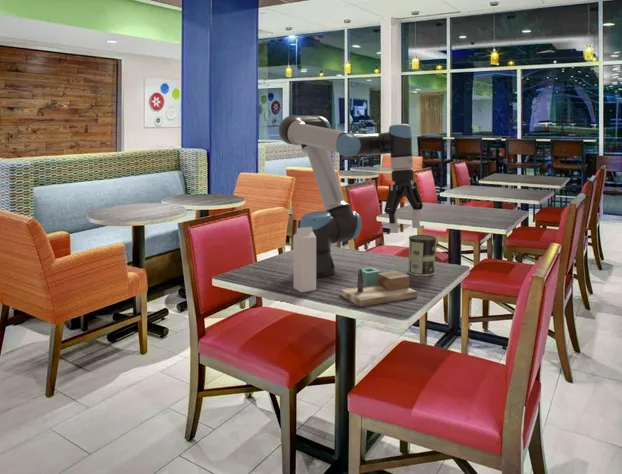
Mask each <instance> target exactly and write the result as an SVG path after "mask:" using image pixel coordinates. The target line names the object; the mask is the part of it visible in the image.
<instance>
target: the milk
mask: <svg viewBox="0 0 622 474" xmlns="http://www.w3.org/2000/svg"><path fill="white" fill-rule="evenodd" d="M292 245H293V247H292V248H293V253H292V254H293V258H292V259H293V261H292V262H293V268H292V269H293V289H294V290H296V291H297V292H300V293H306V292H312V291H317V277H316V236H315V234H314V233H313V231H312V227H304V228H300V227H297V228H296V233H294V235H293V239H292Z"/></svg>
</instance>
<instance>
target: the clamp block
mask: <svg viewBox="0 0 622 474" xmlns="http://www.w3.org/2000/svg"><path fill="white" fill-rule="evenodd" d="M410 278H411V275H407V274H406V273H403V272H400V271H398V270H391V271H384V272H381V273H377V285H379V286H381V287H383V288H385V289H387V290H397V289H403V288H410V286H411V285H410V284H411V283H410V282H411V281H410V280H411V279H410Z"/></svg>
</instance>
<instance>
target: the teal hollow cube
mask: <svg viewBox="0 0 622 474" xmlns="http://www.w3.org/2000/svg"><path fill="white" fill-rule="evenodd" d="M359 269H360V268H357V274H358V273H359ZM361 269H362V273H363V286H368V285H375V284H377V273H382V271H381V270H379V269H377V268H375V267H372V266H371V267H364V268H361Z"/></svg>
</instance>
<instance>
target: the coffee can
mask: <svg viewBox="0 0 622 474" xmlns="http://www.w3.org/2000/svg"><path fill="white" fill-rule="evenodd" d="M436 245H437V237H435V236H433V235H429V234H427V235H426V234H413V235H410V236H409V237H408V270H407V273H408V274H409V275H412V276H415V277H416V276H419V277H430V276H434V275H435V274H436V272H435V271H436V270H435V269H436V266H435V265H436V248H437V246H436Z"/></svg>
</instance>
